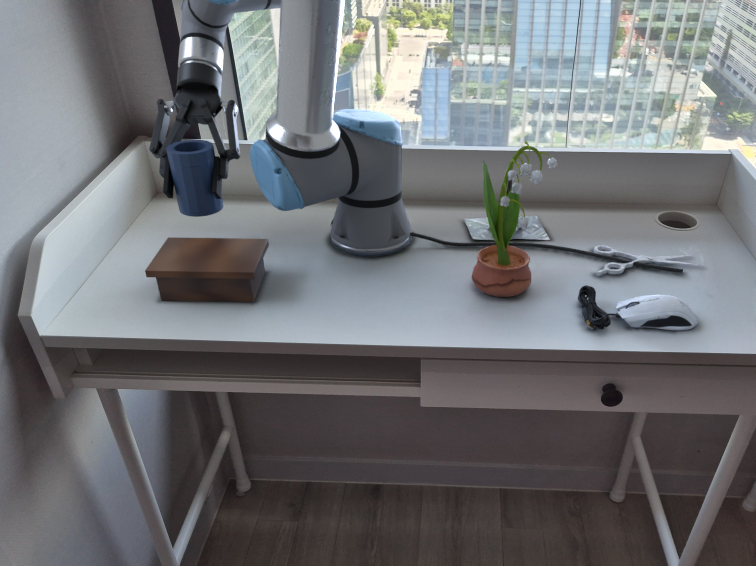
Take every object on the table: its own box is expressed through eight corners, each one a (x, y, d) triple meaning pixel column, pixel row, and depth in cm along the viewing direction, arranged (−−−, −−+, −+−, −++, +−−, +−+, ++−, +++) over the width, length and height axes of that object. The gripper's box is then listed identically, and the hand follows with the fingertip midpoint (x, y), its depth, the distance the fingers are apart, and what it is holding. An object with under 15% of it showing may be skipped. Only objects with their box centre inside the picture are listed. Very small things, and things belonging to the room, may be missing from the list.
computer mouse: (704, 337, 105) (711, 314, 103) (584, 334, 106) (588, 311, 103) (686, 303, 113) (692, 282, 111) (574, 301, 114) (578, 279, 111)
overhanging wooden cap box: (272, 270, 121) (268, 238, 117) (258, 305, 111) (253, 272, 108) (175, 268, 121) (167, 237, 117) (153, 303, 111) (144, 270, 108)
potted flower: (546, 280, 119) (567, 133, 104) (534, 308, 112) (554, 154, 97) (479, 268, 122) (490, 124, 107) (463, 295, 115) (472, 144, 100)
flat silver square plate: (537, 218, 140) (545, 152, 132) (550, 240, 132) (559, 171, 124) (464, 220, 139) (467, 154, 131) (472, 242, 131) (476, 173, 123)
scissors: (585, 245, 129) (692, 244, 129) (584, 249, 129) (691, 248, 129) (597, 272, 120) (712, 272, 120) (596, 276, 120) (711, 276, 121)
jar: (227, 200, 127) (217, 139, 120) (217, 217, 121) (206, 154, 114) (186, 199, 127) (174, 139, 120) (174, 216, 121) (160, 153, 114)
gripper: (263, 85, 126) (257, 204, 122) (150, 84, 126) (141, 203, 122) (253, 60, 118) (246, 186, 115) (133, 59, 119) (123, 185, 115)
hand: (192, 195), depth 119 cm, fingers closed on jar, 8 cm apart
